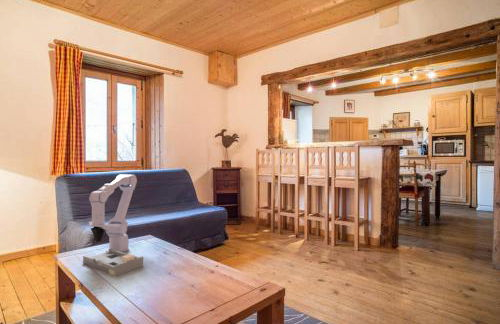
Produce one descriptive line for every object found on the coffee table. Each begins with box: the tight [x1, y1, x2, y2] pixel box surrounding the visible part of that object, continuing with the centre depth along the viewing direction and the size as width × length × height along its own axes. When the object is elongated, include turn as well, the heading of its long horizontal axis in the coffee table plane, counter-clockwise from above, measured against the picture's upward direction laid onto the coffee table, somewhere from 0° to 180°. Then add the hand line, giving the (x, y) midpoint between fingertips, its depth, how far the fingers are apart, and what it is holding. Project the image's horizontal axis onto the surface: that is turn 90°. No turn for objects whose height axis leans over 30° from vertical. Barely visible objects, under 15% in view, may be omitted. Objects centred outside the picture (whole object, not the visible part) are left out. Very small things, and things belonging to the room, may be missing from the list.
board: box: [82, 248, 144, 277], centre depth 140 cm, size 14×28×4 cm, turn 57°
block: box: [122, 253, 136, 263], centre depth 135 cm, size 4×4×4 cm
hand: (98, 241), depth 146 cm, fingers closed
